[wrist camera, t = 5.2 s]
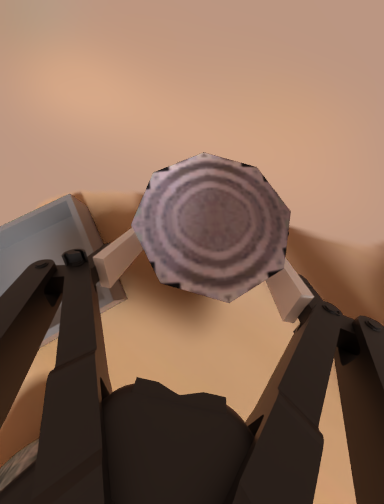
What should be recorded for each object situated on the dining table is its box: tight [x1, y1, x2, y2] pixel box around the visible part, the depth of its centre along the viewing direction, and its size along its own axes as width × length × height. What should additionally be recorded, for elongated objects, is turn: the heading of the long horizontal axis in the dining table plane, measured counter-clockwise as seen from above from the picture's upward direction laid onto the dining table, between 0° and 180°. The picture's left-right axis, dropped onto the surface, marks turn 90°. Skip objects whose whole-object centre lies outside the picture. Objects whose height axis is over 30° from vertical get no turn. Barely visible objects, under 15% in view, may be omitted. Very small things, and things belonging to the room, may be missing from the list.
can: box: [131, 152, 291, 303], centre depth 16 cm, size 11×11×12 cm
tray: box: [0, 194, 127, 348], centre depth 20 cm, size 17×17×4 cm
